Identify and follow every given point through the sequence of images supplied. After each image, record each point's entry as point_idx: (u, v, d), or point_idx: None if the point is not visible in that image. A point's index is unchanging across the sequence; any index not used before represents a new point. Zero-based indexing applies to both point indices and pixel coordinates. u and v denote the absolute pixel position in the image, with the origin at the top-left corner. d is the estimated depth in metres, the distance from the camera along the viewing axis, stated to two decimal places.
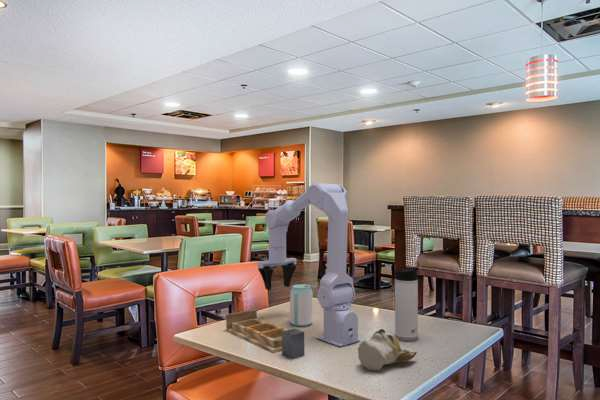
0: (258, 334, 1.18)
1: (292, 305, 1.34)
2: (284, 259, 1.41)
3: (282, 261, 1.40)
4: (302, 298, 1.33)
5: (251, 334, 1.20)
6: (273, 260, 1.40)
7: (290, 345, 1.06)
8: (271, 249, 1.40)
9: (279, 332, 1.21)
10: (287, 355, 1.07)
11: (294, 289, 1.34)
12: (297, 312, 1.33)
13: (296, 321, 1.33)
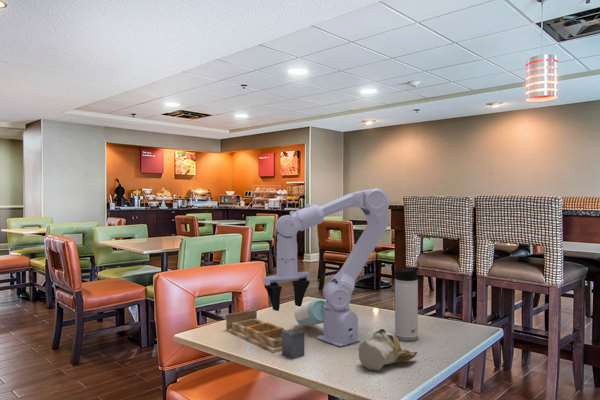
0: (258, 334, 1.18)
1: (303, 316, 1.27)
2: (295, 274, 1.18)
3: (293, 276, 1.17)
4: (315, 323, 1.25)
5: (251, 334, 1.20)
6: (282, 275, 1.17)
7: (290, 345, 1.06)
8: (279, 262, 1.17)
9: (279, 332, 1.21)
10: (287, 355, 1.07)
11: (312, 315, 1.23)
12: (304, 322, 1.29)
13: (299, 322, 1.31)
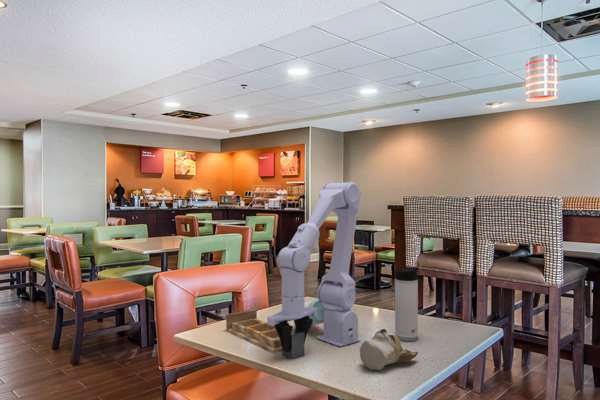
0: (258, 334, 1.18)
1: None
2: (302, 312, 1.07)
3: (300, 315, 1.06)
4: (315, 323, 1.25)
5: (251, 334, 1.20)
6: (288, 314, 1.06)
7: (290, 345, 1.06)
8: (285, 299, 1.07)
9: None
10: (287, 355, 1.07)
11: None
12: None
13: None
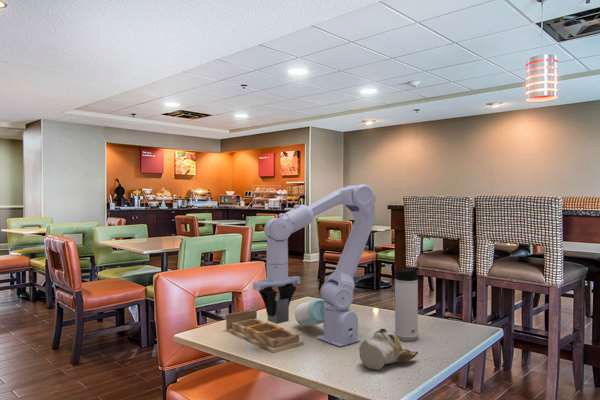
0: (258, 334, 1.18)
1: (303, 316, 1.27)
2: (286, 279, 1.14)
3: (283, 281, 1.13)
4: (315, 323, 1.25)
5: (251, 334, 1.20)
6: (272, 280, 1.13)
7: (275, 310, 1.13)
8: (270, 266, 1.13)
9: (279, 332, 1.21)
10: (272, 320, 1.14)
11: (312, 315, 1.23)
12: (304, 322, 1.29)
13: (299, 322, 1.31)
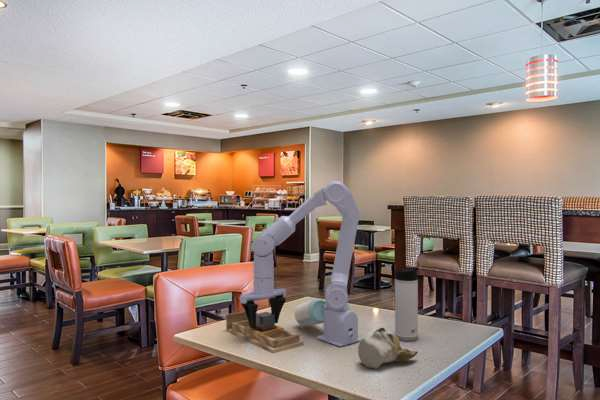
0: (258, 334, 1.18)
1: (303, 316, 1.27)
2: (271, 292, 1.21)
3: (269, 294, 1.20)
4: (315, 323, 1.25)
5: (251, 334, 1.20)
6: (258, 293, 1.20)
7: (261, 326, 1.20)
8: (256, 280, 1.20)
9: (279, 332, 1.21)
10: None
11: (312, 315, 1.23)
12: (304, 322, 1.29)
13: (299, 322, 1.31)
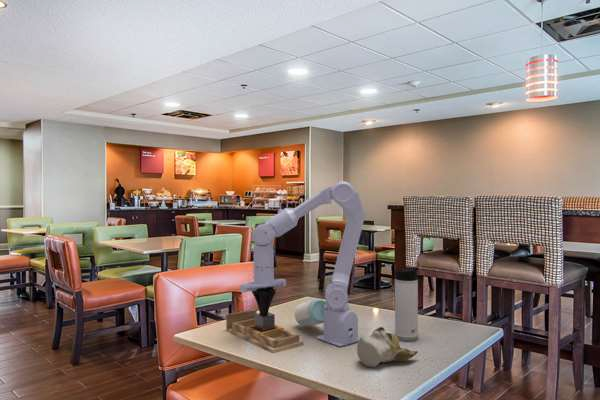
0: (258, 334, 1.18)
1: (303, 316, 1.27)
2: (271, 281, 1.21)
3: (269, 284, 1.20)
4: (315, 323, 1.25)
5: (251, 334, 1.20)
6: (258, 283, 1.20)
7: (261, 326, 1.20)
8: (256, 270, 1.20)
9: (279, 332, 1.21)
10: None
11: (312, 315, 1.23)
12: (304, 322, 1.29)
13: (299, 322, 1.31)
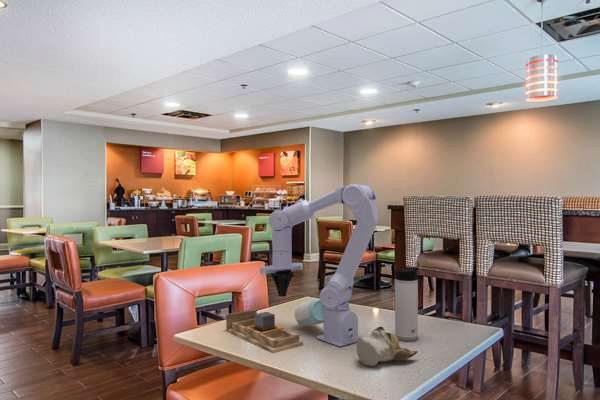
0: (258, 334, 1.18)
1: (303, 316, 1.27)
2: (289, 264, 1.28)
3: (287, 266, 1.27)
4: (315, 323, 1.25)
5: (251, 334, 1.20)
6: (277, 265, 1.26)
7: (261, 326, 1.20)
8: (275, 253, 1.27)
9: (279, 332, 1.21)
10: None
11: (312, 315, 1.23)
12: (304, 322, 1.29)
13: (299, 322, 1.31)
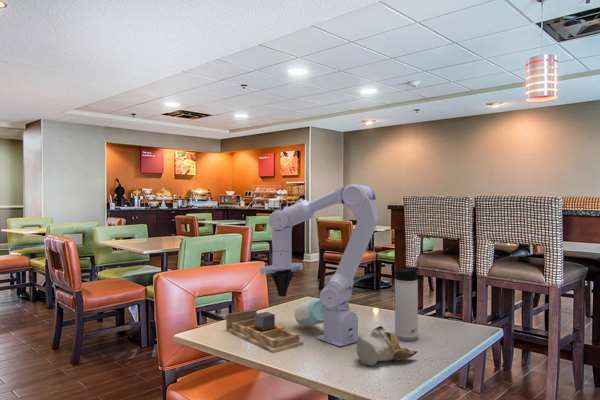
0: (258, 334, 1.18)
1: (303, 316, 1.27)
2: (289, 264, 1.28)
3: (287, 266, 1.27)
4: (315, 323, 1.25)
5: (251, 334, 1.20)
6: (277, 265, 1.26)
7: (261, 326, 1.20)
8: (275, 253, 1.27)
9: (279, 332, 1.21)
10: None
11: (312, 315, 1.23)
12: (304, 322, 1.29)
13: (299, 322, 1.31)
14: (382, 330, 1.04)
